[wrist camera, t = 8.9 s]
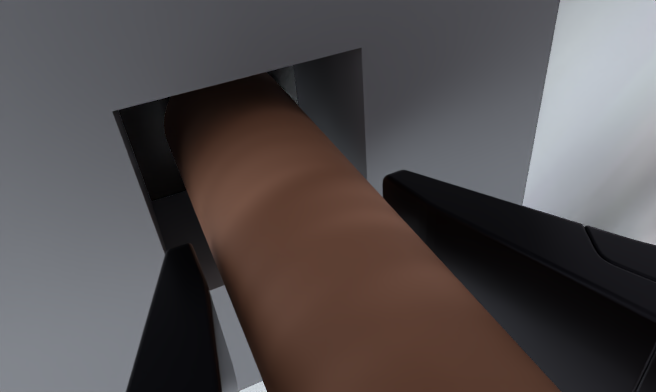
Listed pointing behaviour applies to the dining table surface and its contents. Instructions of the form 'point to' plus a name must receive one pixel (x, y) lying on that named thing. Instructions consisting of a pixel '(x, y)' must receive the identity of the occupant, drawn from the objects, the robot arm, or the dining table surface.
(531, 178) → the dining table surface
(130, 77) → the hole block
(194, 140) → the terracotta peg
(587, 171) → the dining table surface
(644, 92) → the dining table surface
